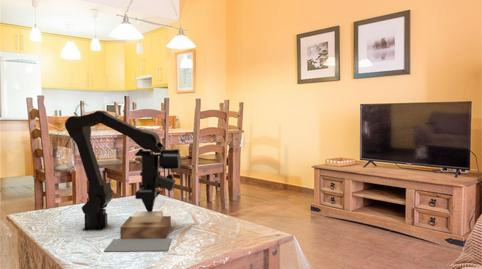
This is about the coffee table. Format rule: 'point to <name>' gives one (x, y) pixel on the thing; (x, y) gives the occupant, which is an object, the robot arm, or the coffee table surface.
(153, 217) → the cream rectangular block
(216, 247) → the coffee table surface
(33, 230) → the coffee table surface
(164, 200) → the coffee table surface
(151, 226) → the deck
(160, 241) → the mat
